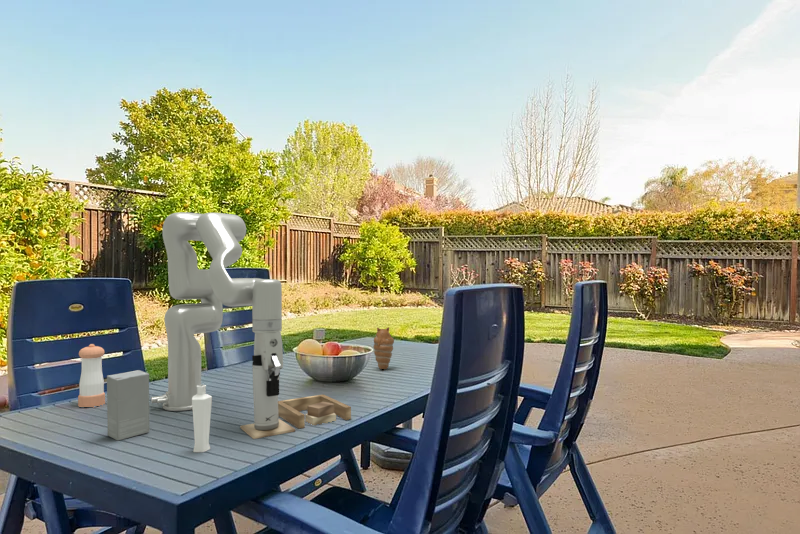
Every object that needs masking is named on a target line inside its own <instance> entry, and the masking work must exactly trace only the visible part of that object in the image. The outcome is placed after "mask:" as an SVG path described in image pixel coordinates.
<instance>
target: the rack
mask: <svg viewBox="0 0 800 534" xmlns="http://www.w3.org/2000/svg"><path fill="white" fill-rule="evenodd" d="M320 402H327V403H332V404H334V413H335V414H336V416H337V415H338V416H337V417H339V416H340V417H339V418H340V419H342V420H345V421H349V419H350V420H352V407H351V406H350V405H348V404H346V403H344V402H341V401H339V400H337V399H335V398H332V397H330V396H328V395H325V394H316V395H312V396H311V395H310V396H305V397H304V396H303V397H296V398H292V399H290V398H289V399H282V400H278V415H279V417H280V418H281V419H283V421H284V420H285V421H286V422H288V423H289V424H291V425H292V426H294V427H295V428H297V429H298V430H300V428H301V429H305V426H306V425H305V423H306V421H305V413H302V410H303V411H307V406H309V405H313V404H316V403H320Z"/></svg>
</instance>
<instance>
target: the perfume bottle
mask: <svg viewBox="0 0 800 534" xmlns="http://www.w3.org/2000/svg"><path fill="white" fill-rule="evenodd" d="M206 387H207V385H206V384H201V385H197V394H196V395H195V396H193V397H192V408H193V409H192V420H193V422H192V423H193V435H194V436H193V437H194V446H193V450H192V451H193V453H205V452H207V451H209V450H211V445H210V441H209V440H210V428H211V415H212V403H213V396H212V395H210V394H208V393H207V392H206Z"/></svg>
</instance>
